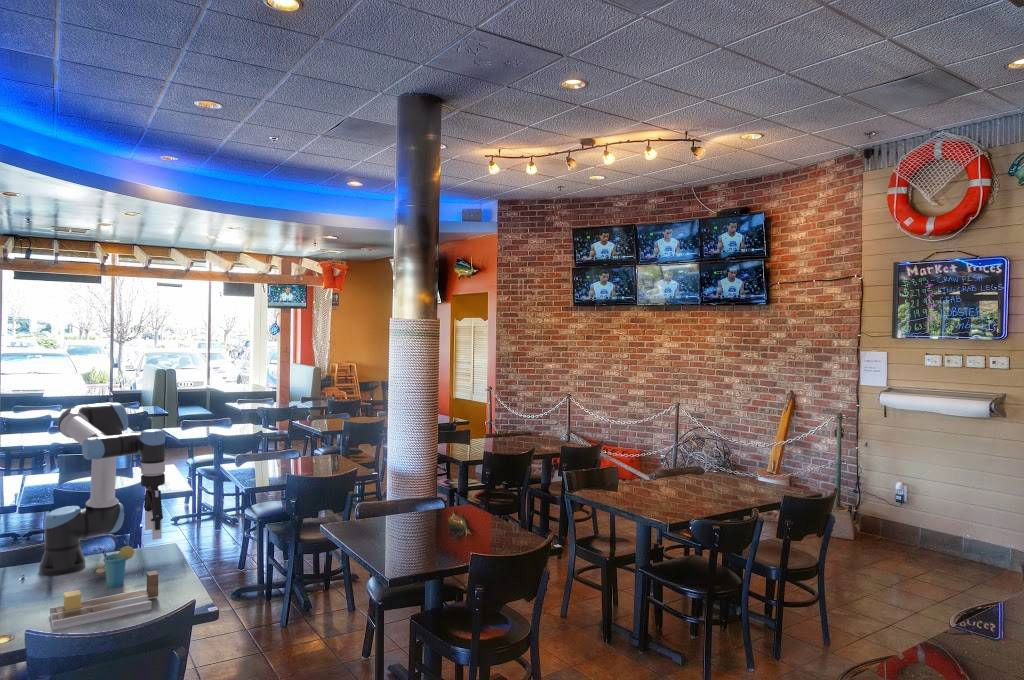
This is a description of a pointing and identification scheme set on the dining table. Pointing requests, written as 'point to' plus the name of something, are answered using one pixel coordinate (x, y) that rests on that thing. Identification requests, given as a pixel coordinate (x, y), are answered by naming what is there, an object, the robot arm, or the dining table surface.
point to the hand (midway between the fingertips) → (153, 534)
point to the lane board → (115, 610)
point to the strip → (151, 592)
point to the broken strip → (82, 612)
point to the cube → (72, 600)
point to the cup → (116, 566)
